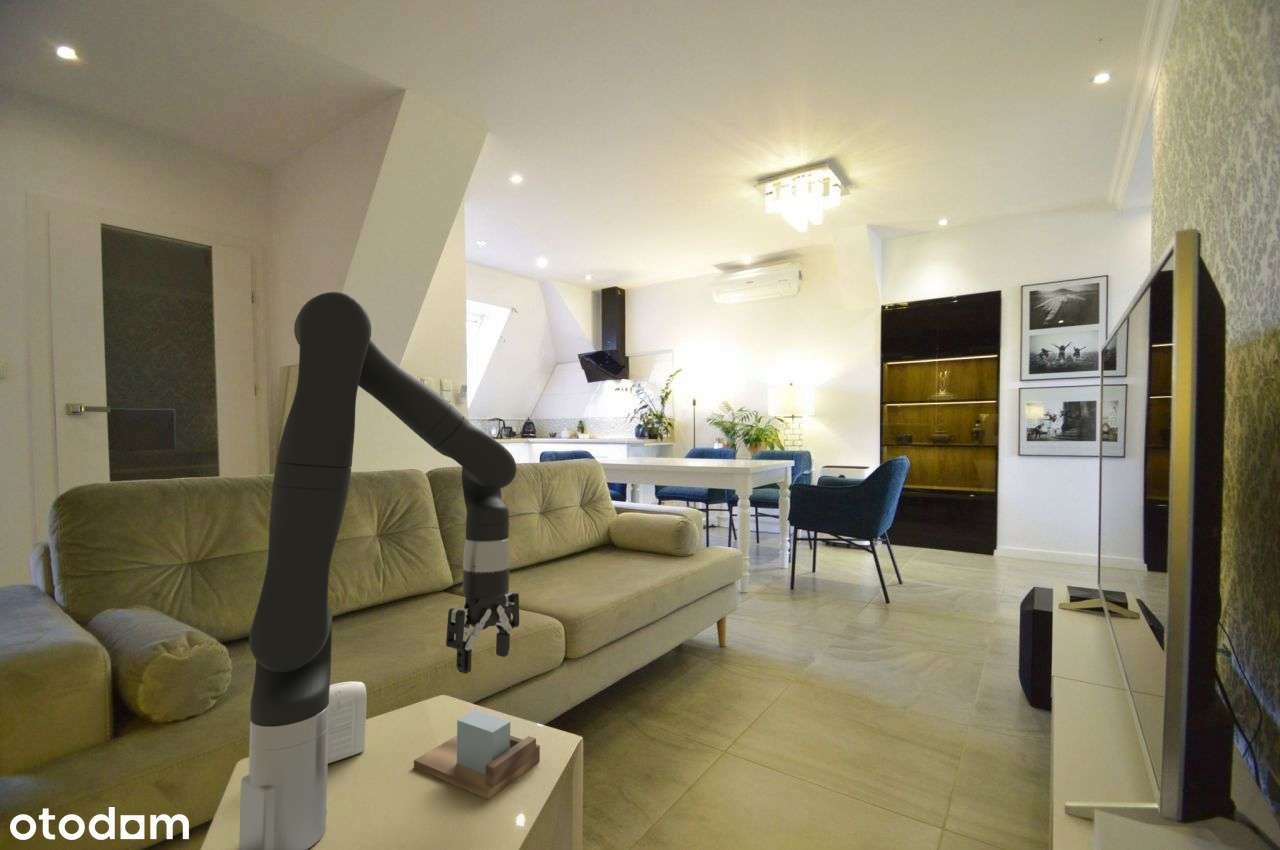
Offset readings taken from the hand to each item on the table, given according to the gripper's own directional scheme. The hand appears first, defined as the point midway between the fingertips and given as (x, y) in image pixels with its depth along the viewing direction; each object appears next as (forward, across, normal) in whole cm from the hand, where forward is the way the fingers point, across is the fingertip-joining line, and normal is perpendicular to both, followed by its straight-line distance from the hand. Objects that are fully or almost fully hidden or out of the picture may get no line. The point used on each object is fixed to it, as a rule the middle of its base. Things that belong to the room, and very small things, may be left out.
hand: (484, 663), depth 93 cm
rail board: (+18, +1, +2) cm, 18 cm away
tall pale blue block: (+16, 0, 0) cm, 16 cm away
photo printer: (+18, -10, +25) cm, 33 cm away
